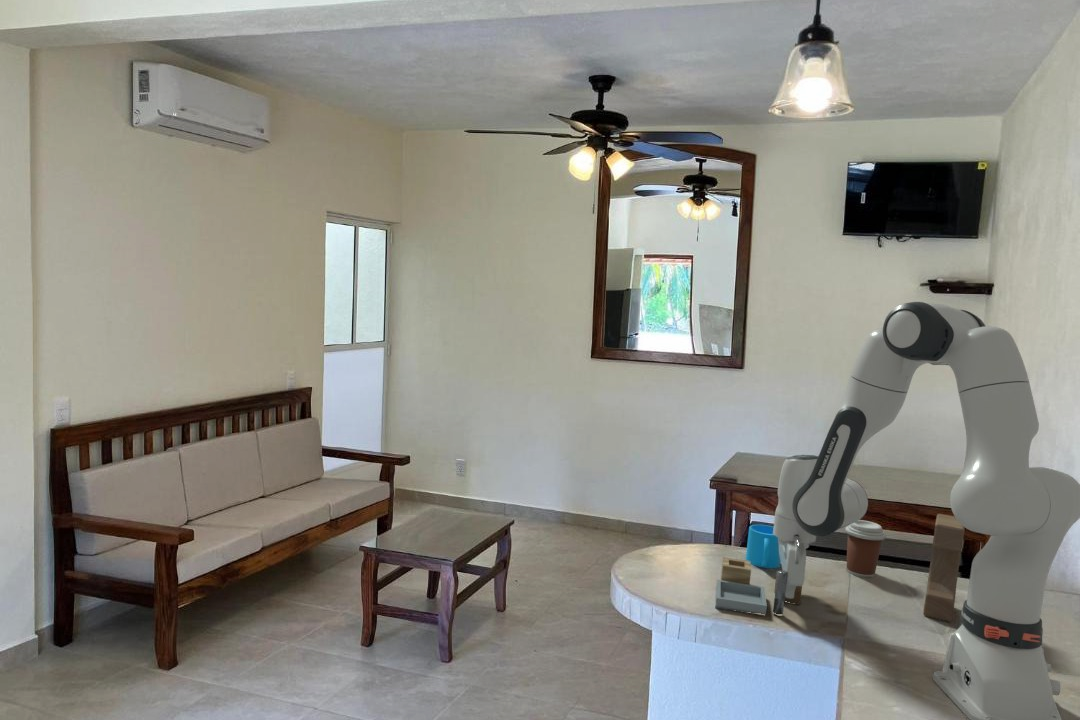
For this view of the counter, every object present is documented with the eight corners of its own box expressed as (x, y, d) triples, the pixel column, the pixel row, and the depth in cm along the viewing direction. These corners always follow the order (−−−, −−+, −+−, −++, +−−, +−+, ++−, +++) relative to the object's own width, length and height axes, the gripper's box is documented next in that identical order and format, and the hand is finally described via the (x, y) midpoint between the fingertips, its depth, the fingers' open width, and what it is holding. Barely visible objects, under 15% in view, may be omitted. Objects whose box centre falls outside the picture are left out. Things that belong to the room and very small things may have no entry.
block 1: (748, 592, 179) (751, 569, 179) (720, 587, 181) (723, 565, 180) (747, 582, 185) (750, 561, 185) (720, 578, 186) (723, 557, 186)
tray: (765, 616, 167) (766, 605, 166) (715, 608, 169) (716, 597, 168) (763, 596, 177) (764, 586, 177) (715, 589, 179) (716, 579, 179)
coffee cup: (851, 563, 205) (857, 516, 204) (887, 575, 198) (893, 526, 197) (833, 570, 199) (839, 521, 197) (870, 582, 192) (876, 532, 191)
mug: (745, 554, 205) (748, 522, 204) (779, 559, 203) (782, 527, 203) (746, 570, 193) (749, 536, 193) (782, 575, 192) (786, 541, 191)
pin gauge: (783, 617, 167) (788, 574, 166) (773, 615, 167) (777, 573, 166) (782, 613, 169) (787, 571, 168) (772, 612, 169) (777, 569, 168)
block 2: (799, 605, 174) (802, 582, 174) (775, 601, 175) (778, 578, 175) (797, 596, 179) (800, 574, 179) (774, 592, 180) (776, 570, 180)
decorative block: (951, 623, 171) (964, 529, 169) (921, 616, 174) (934, 524, 172) (954, 606, 181) (966, 518, 179) (925, 600, 183) (937, 512, 181)
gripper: (815, 545, 165) (807, 612, 166) (805, 518, 185) (798, 577, 186) (783, 541, 166) (775, 607, 168) (776, 514, 186) (770, 573, 187)
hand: (787, 591), depth 177 cm, fingers open, 5 cm apart
